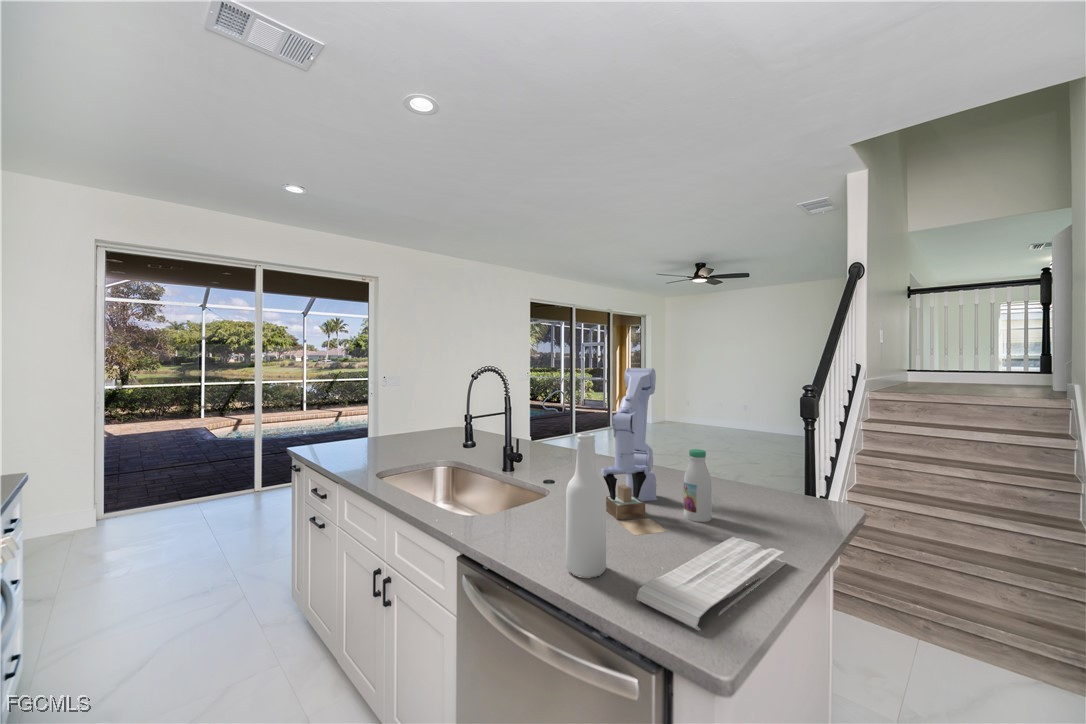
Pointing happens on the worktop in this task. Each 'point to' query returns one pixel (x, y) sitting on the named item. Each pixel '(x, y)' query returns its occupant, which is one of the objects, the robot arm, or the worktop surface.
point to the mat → (642, 526)
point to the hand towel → (710, 580)
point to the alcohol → (586, 514)
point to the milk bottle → (697, 488)
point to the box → (625, 510)
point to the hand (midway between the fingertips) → (624, 497)
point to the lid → (624, 496)
